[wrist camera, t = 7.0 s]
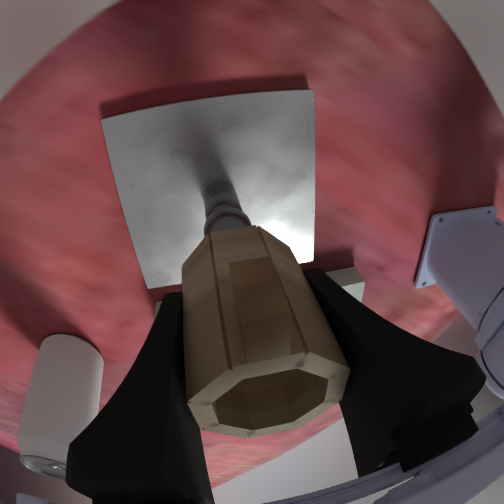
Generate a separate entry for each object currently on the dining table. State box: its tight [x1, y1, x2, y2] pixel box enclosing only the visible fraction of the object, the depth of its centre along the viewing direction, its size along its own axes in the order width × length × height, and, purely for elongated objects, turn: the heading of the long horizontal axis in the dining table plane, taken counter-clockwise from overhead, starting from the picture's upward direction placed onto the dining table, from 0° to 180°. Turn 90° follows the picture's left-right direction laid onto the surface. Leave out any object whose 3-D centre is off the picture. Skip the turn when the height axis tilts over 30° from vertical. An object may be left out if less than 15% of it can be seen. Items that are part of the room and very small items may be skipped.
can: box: [18, 334, 103, 481], centre depth 21 cm, size 6×6×12 cm
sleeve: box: [182, 225, 350, 438], centre depth 10 cm, size 4×6×6 cm
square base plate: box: [101, 89, 315, 289], centre depth 17 cm, size 12×12×6 cm
